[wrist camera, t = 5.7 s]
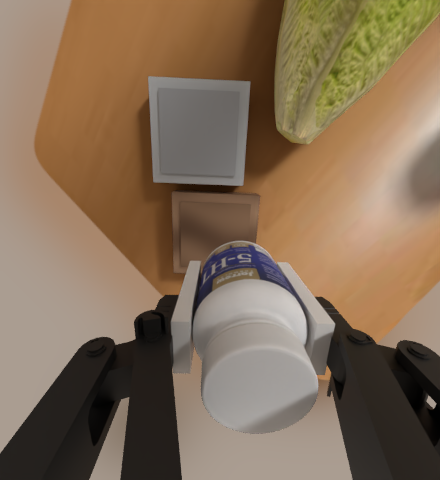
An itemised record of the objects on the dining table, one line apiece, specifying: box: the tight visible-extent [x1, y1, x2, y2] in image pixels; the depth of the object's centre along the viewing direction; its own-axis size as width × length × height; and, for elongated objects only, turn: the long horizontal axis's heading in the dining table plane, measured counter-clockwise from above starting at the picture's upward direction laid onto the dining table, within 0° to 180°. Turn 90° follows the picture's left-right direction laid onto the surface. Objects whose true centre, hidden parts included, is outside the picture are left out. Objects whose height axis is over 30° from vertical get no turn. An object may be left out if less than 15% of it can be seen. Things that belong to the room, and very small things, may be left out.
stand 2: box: [172, 190, 260, 274], centre depth 28 cm, size 10×10×3 cm
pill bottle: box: [192, 241, 318, 434], centre depth 12 cm, size 5×5×9 cm
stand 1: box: [148, 76, 250, 186], centre depth 24 cm, size 10×10×3 cm
